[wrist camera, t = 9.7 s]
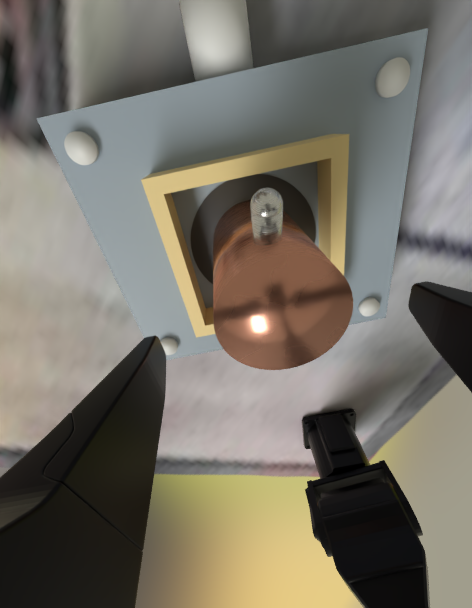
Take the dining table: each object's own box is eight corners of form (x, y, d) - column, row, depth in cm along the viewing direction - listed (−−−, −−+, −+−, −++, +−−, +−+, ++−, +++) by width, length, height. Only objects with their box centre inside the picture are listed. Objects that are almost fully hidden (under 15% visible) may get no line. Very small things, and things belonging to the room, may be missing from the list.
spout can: (297, 270, 18) (350, 356, 11) (222, 286, 18) (228, 379, 11) (289, 153, 14) (361, 173, 7) (195, 174, 14) (179, 212, 7)
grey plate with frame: (360, 291, 24) (401, 334, 19) (163, 330, 24) (151, 382, 19) (386, -29, 14) (490, -124, 8) (44, 54, 14) (-48, 10, 9)
